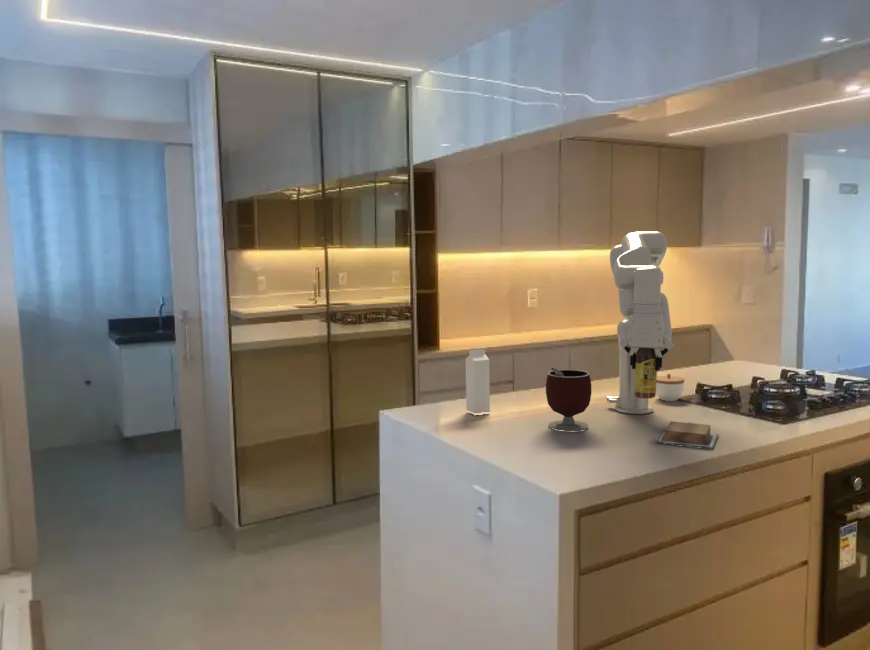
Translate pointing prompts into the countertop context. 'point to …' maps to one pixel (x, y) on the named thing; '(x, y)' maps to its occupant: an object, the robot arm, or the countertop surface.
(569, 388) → the mate gourd
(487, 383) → the milk
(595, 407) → the countertop surface
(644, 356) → the sauce bottle
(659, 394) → the lidded jar
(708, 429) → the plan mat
